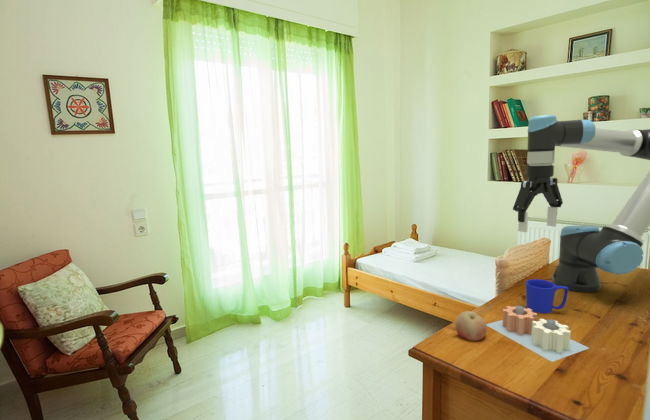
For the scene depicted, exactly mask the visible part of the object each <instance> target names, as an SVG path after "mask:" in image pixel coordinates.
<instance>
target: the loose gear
mask: <svg viewBox="0 0 650 420" xmlns="http://www.w3.org/2000/svg"><path fill="white" fill-rule="evenodd" d="M502 309H503V310H502V320H503V327H506V330H507V331H509V332H512V331H513V332H515V333H518V335H523V334H530V335H531V334H532V322H533V321H537V322H538V313H537V312H534V311H532V309H530V308H527V307H524V315H519V314H516V306H510V305H507V306H505V308H502Z"/></svg>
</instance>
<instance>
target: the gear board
mask: <svg viewBox="0 0 650 420" xmlns="http://www.w3.org/2000/svg"><path fill="white" fill-rule="evenodd" d="M515 307H516V314H519V315H524V308H525V307H524V306H523V305H515ZM546 320H547V325H546V328H547V329H550V330H555V325H556V322H555V321H556V320H555V321H554V319H551V318H550V319H546ZM486 326H487V327H488V328H490V329H493V330H494V331H495V332H497V333H499V334H501V335H503V336H504V337H506V338H508V339H510V340H512V341H513V342H515V343H517V344H519V345H521V346H523V347H524V348H525V349H528V350H530V351H531V352H533V353H535V354H537V355H538V356H540V357H542V358H543V359H545V360H548V361H549V362H551V363H553V362H556V361H558V360H562V359H564V358H567V357H569V356H573V355H575V354H577V353H580V352H583V351H587V350H589V349H590V347H588V346H586V345H584V344H582V343H579V342H578V341H576V340H573V339H571V338H570V346H569V350H564V349H563V350H562V353H557V352H556V351H552V350H548V351H545V350H542V347H540V346H539V345H534V344H533V343H532V339H531V335H530V334H523V335H518V333H515V332H513V331H512V332H509V331H507V330H506V327H503V319H501V320H497V321H493V322H490V323H486Z"/></svg>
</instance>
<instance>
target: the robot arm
mask: <svg viewBox="0 0 650 420" xmlns="http://www.w3.org/2000/svg"><path fill="white" fill-rule="evenodd" d="M527 125H528V126H527V157H526V158H527V159H526V164H527V166H526V177H527V178H528V179H529V180H522V181H521V183H520V188H519V191H518V194H517V196H516V198H515V202H514V204H513V207H512V210H513V211H515V212H517V222H518V227H517V228H518V229H517V230H518V232H522V233H528V225H529V224H528V223H529V212H528V211H527V210H528V209H529V207H530V205H531V204H532V202H533V201H534V198H535V197H537V196H538V195H541V194H542V195H543V197H544V198H545V199H546V202H547V203H548V205H549V206H547V214H546V216H547V217H546V226H547V227H554V228H556V227H557V216H558V208H562V205H563V204H564V203H563V198H562V195H561V192H560V188H559V185H558V178H557V177H553V176H554V175H555V174H554V173H555V171H554V169H555V166H554V165H553V164H554V163H555V155H556V154H555V152H556V149H555V148H556V147H560V148H561V147H563V148H573V149H579V150H580V149H583V150H592V151H599V152H612V153H619V154H620V155H621V156H624V157H630V158H636V159H642V160H647V161H650V128H647V129H635V128H633V129H628V130H624V131H623V130H618V129H617V130H616V129H615V130H614V129H607V128H596V125H595V122H594V121H592V120H590V119H582V118H581V119H571V120H561V121H559V120H557V116H556V115H555V114H545V115H544V114H543V115H535V116H531V117H530V118H529V120H528V124H527ZM649 227H650V170H649V171H648V173H647V174H646V175H645V177H644V178H643V180H642V181H641V183H640V184H639V185H638V186H637V188H636V189H635V191H634V192H633V193H632V195H631V196H630V198H628V200H627V202H626V204H624V206H623V208H622V209H621V211H620V212H619V213H618V215H617V216H616V218H615V219H613V221H612V223H611V224H607V225H606V224H605V225H603V226H602V228H601V229H600V227H599V226H594V225H566V226H563V227H562V228H561V231H560V235H559V237H560V238H559V256H558V264H557V266H556V268H555V271H554V272H553V274H552V277H551V278H552V281H551V282H552V283H553V284H555V286H565V287H568V291H573V292H579V293H593V292H598V291H600V290H601V286H602V285H601V284H602V283H601V282H602V281H601V280H600V276H599V273H598V270H597V269H600V270H601V271H603V272H606V273H609V274H613V275H619V276H620V275H624V274H625V275H626V274H630V273H631V272H633V271H635V270H636V269H637V268H638V267H639V266H640V265H641V263H643V259H644V256H643V255H644V250H643V249H642V247H643V245H644V242H643V239H642V236H643V235H644V234H645V232H646V231H647V229H648V228H649Z"/></svg>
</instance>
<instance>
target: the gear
mask: <svg viewBox="0 0 650 420" xmlns="http://www.w3.org/2000/svg"><path fill="white" fill-rule="evenodd" d="M547 320H548V319H544V318H539V319H538V320H537V321H533V322H532V334H531V339H532V343H533V344H534V345H539V346H540V347H542V350H545V351H548V350H552V351H556V352H557V353H562V350H563V349H564V350H569V346H570V339H571V330H569V328H570V327H569V326H568V325H566V324H562V323H559V321H558V320H554V319H553V320H554V321H555V322H556V325H555V330H550V329H547V328H546V325H547Z"/></svg>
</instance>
